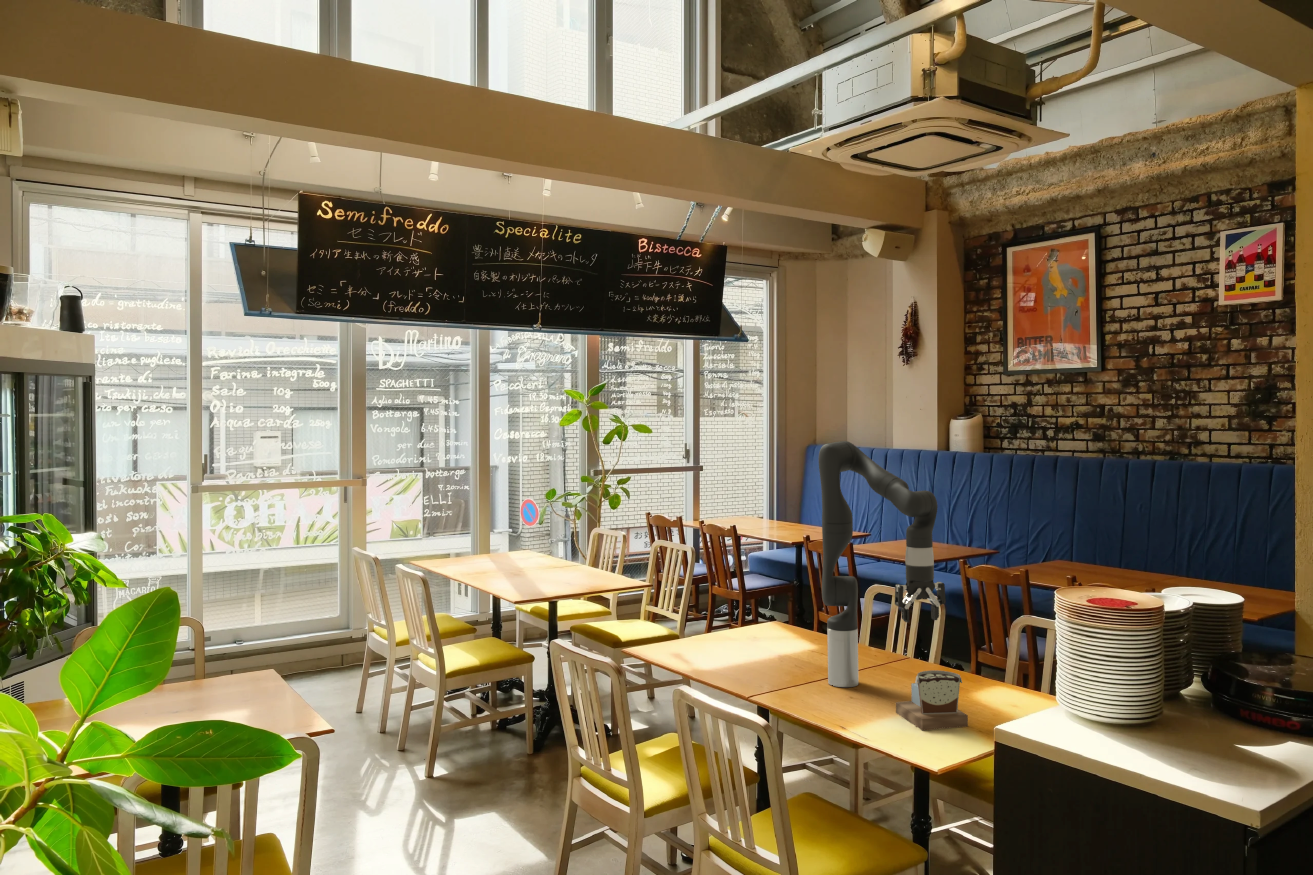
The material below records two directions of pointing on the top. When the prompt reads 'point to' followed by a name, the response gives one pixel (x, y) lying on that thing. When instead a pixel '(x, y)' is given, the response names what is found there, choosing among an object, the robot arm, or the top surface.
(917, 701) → the slate cube
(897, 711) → the walnut slab
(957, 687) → the food container
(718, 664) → the top surface
